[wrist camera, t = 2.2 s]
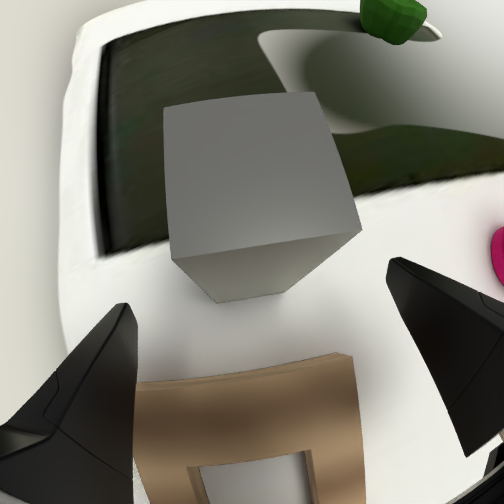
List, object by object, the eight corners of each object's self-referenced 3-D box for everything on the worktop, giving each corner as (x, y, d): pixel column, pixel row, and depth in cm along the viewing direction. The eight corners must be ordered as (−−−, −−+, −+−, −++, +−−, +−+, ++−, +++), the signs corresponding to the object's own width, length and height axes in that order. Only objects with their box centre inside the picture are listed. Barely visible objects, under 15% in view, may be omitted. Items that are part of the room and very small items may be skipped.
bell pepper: (343, 15, 29) (359, -39, 19) (391, 24, 29) (411, -23, 20) (367, 47, 27) (391, -14, 17) (417, 57, 27) (446, 6, 18)
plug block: (284, 292, 19) (362, 229, 7) (217, 303, 19) (171, 259, 6) (272, 228, 20) (314, 92, 8) (207, 237, 20) (163, 107, 7)
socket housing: (354, 533, 14) (365, 551, 11) (192, 558, 13) (188, 578, 10) (336, 352, 18) (352, 356, 15) (133, 383, 17) (116, 391, 14)
